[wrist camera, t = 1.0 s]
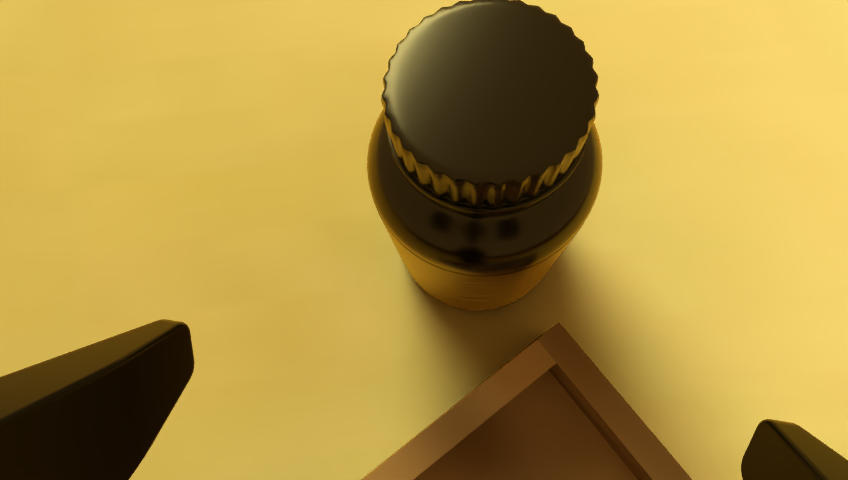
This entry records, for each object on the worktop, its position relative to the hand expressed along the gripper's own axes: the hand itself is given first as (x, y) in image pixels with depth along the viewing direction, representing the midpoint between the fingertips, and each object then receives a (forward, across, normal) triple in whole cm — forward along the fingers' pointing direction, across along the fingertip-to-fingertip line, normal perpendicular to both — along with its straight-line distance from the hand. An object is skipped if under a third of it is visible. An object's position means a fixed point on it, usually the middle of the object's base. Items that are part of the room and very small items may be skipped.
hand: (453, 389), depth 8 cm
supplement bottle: (+14, 0, +4) cm, 15 cm away
